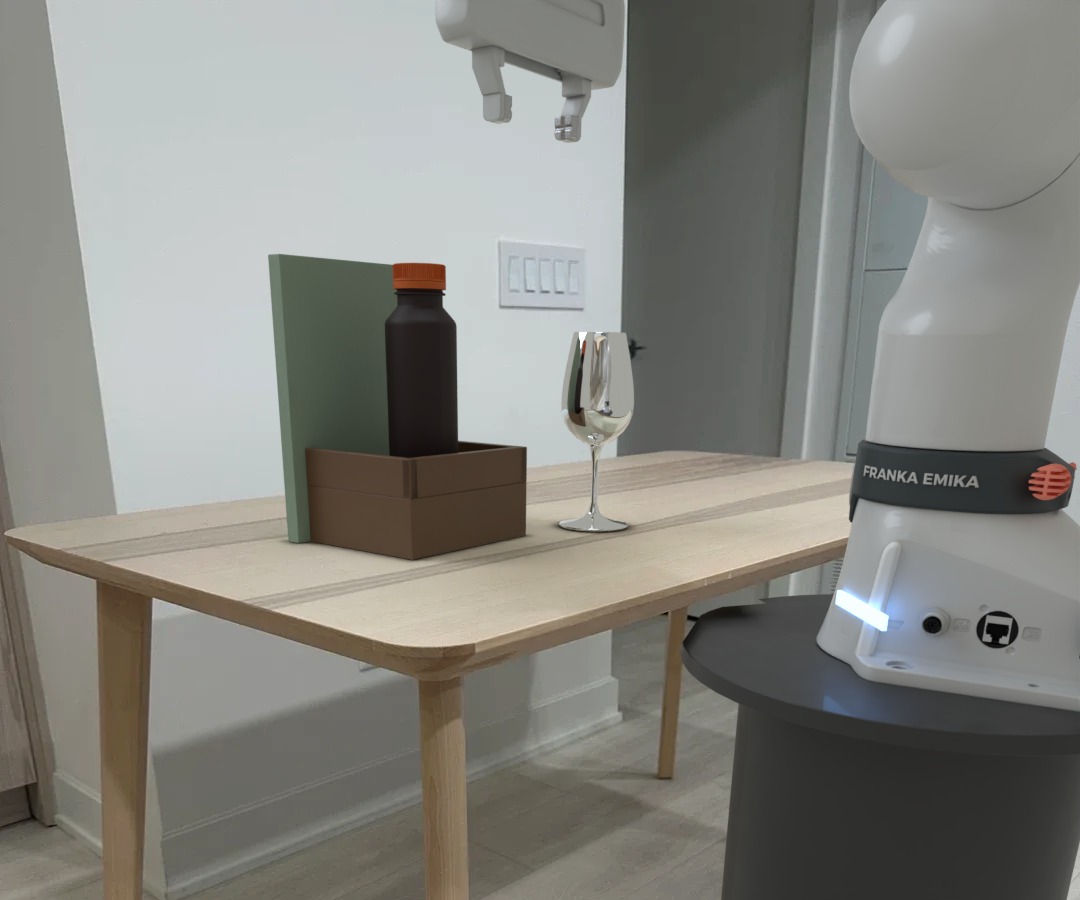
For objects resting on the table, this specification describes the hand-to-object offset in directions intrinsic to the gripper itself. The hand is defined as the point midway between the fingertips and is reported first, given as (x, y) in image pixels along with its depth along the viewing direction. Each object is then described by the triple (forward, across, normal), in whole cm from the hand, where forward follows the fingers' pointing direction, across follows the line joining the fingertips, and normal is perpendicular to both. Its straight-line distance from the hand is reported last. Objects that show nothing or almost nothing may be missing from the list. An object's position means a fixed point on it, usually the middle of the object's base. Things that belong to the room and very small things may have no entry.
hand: (534, 132), depth 83 cm
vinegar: (+30, 0, +13) cm, 33 cm away
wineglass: (+35, +18, +5) cm, 40 cm away
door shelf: (+35, 0, +14) cm, 38 cm away
